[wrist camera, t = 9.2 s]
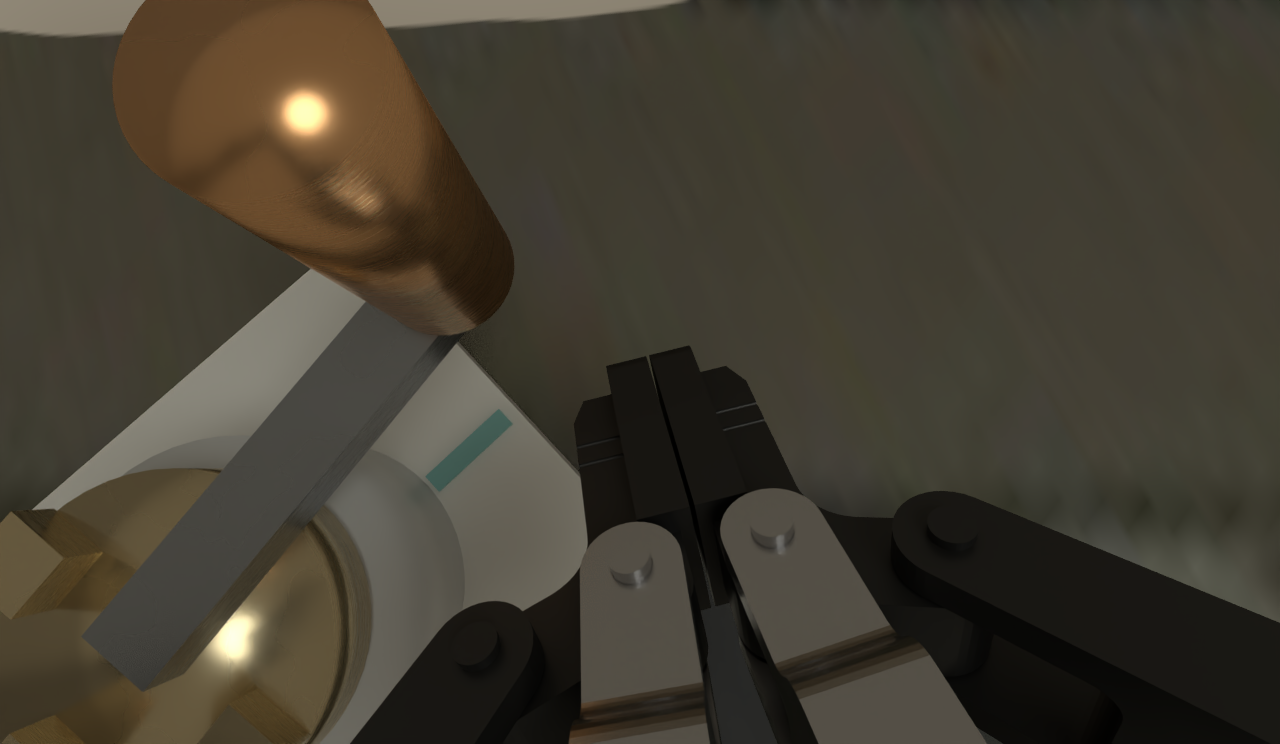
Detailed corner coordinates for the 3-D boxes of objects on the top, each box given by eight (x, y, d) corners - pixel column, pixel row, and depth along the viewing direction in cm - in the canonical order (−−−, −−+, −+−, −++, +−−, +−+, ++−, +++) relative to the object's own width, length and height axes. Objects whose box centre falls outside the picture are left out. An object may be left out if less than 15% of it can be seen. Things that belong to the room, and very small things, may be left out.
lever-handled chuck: (223, 867, 18) (-582, 1625, 6) (-6, 655, 19) (-1104, 968, 7) (631, 347, 20) (612, 170, 8) (407, 177, 21) (93, -210, 9)
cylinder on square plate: (303, 974, 25) (159, 1187, 18) (-9, 571, 27) (-254, 609, 20) (689, 591, 27) (706, 638, 19) (368, 244, 29) (273, 166, 22)
